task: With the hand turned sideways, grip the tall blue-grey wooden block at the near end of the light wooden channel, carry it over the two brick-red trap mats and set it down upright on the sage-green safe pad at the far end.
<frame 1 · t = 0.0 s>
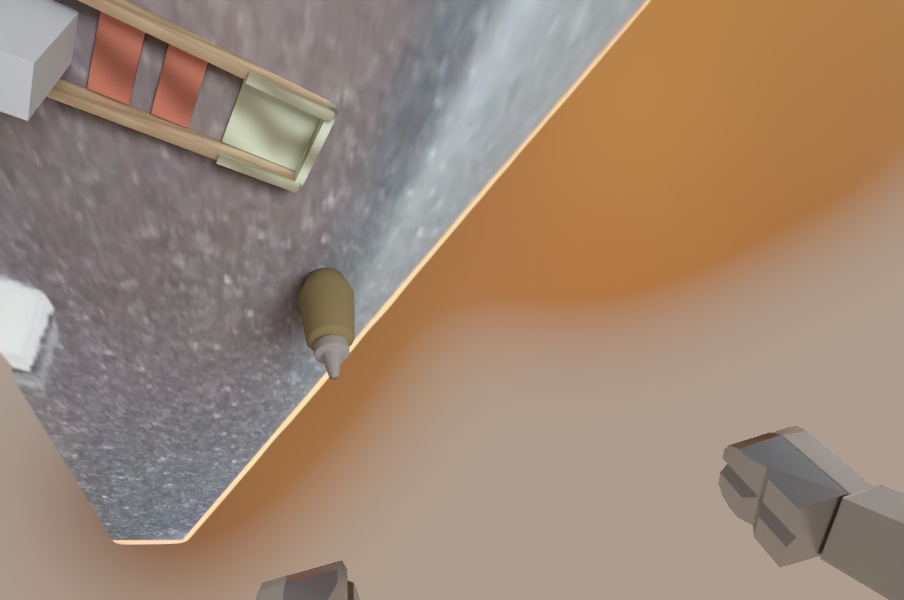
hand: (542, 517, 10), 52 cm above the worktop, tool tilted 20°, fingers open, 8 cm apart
squeeze bottle: (325, 280, 73), on the worktop
blue-grey block: (40, 23, 43), resting in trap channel
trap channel: (166, 78, 48), on the worktop
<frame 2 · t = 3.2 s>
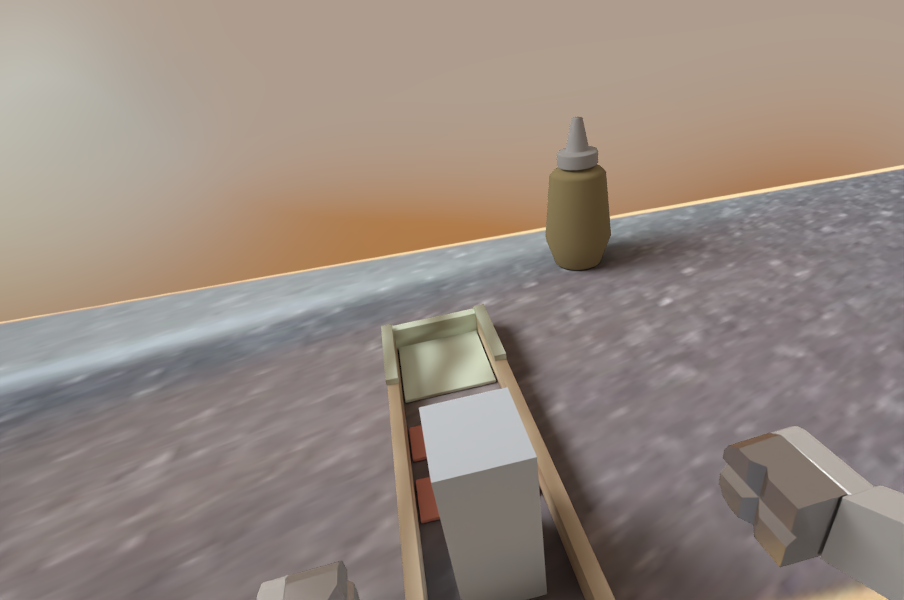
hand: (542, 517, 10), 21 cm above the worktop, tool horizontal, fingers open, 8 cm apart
squeeze bottle: (577, 262, 62), on the worktop
blue-grey block: (495, 564, 30), resting in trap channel
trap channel: (464, 444, 38), on the worktop
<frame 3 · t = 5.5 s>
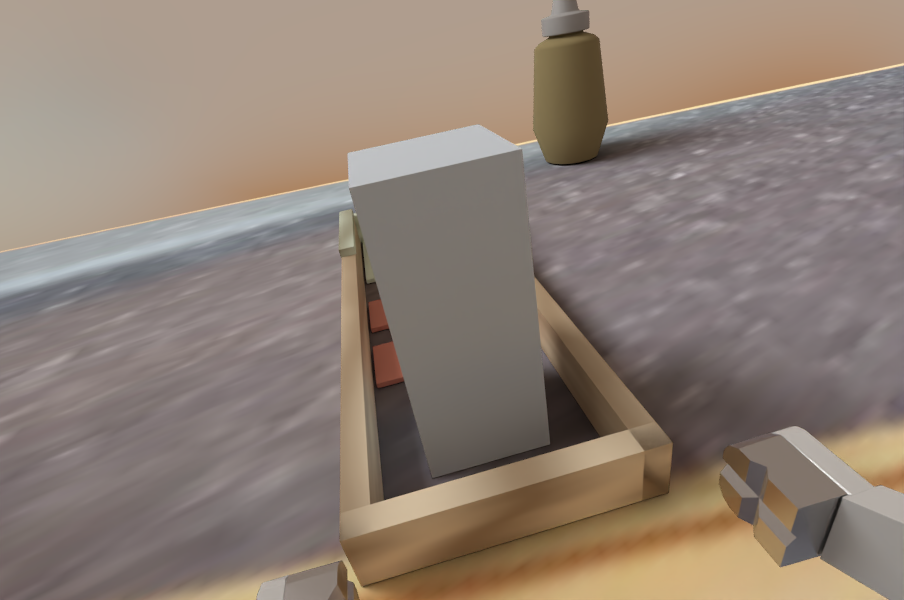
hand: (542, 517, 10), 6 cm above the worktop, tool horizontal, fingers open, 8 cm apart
squeeze bottle: (571, 159, 54), on the worktop
blue-grey block: (476, 419, 21), resting in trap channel
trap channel: (438, 311, 30), on the worktop
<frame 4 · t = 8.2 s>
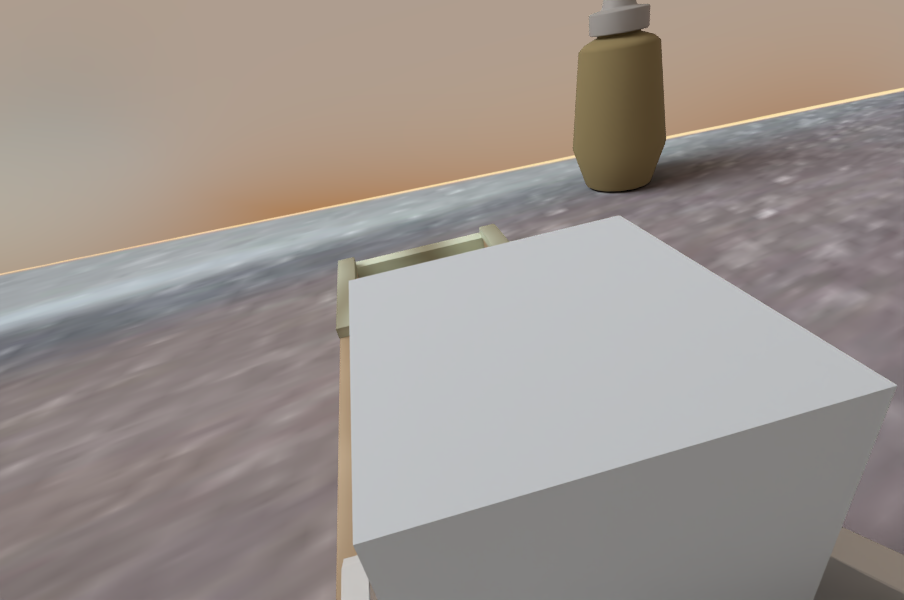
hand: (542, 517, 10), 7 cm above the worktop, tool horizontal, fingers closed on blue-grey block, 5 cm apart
squeeze bottle: (617, 185, 45), on the worktop
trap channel: (478, 431, 21), on the worktop
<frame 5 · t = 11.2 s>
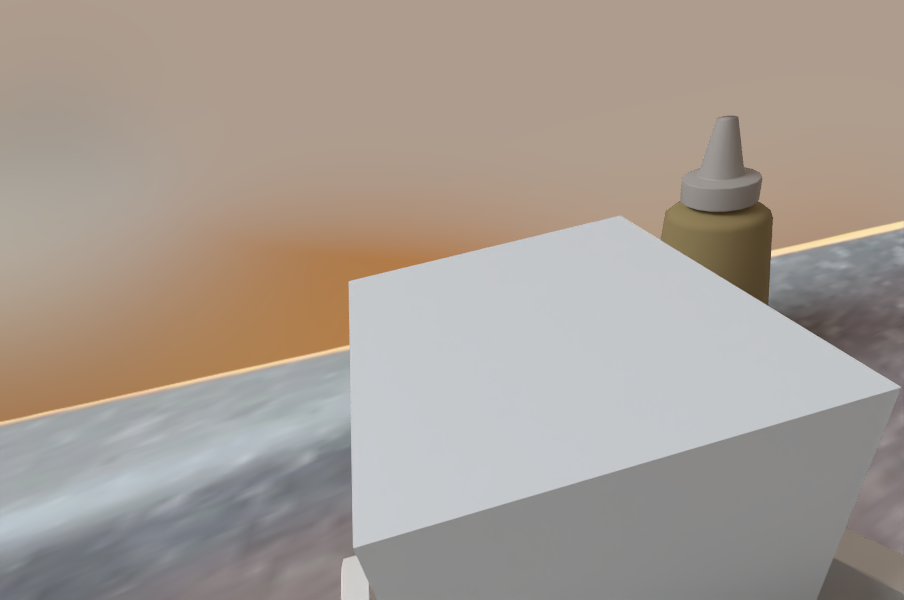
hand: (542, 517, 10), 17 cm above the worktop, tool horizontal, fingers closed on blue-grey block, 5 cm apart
squeeze bottle: (700, 352, 38), on the worktop
when the fingers open (8 cm above the worktop, at t = 14.3 s): blue-grey block drops 1 cm, resting on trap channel.
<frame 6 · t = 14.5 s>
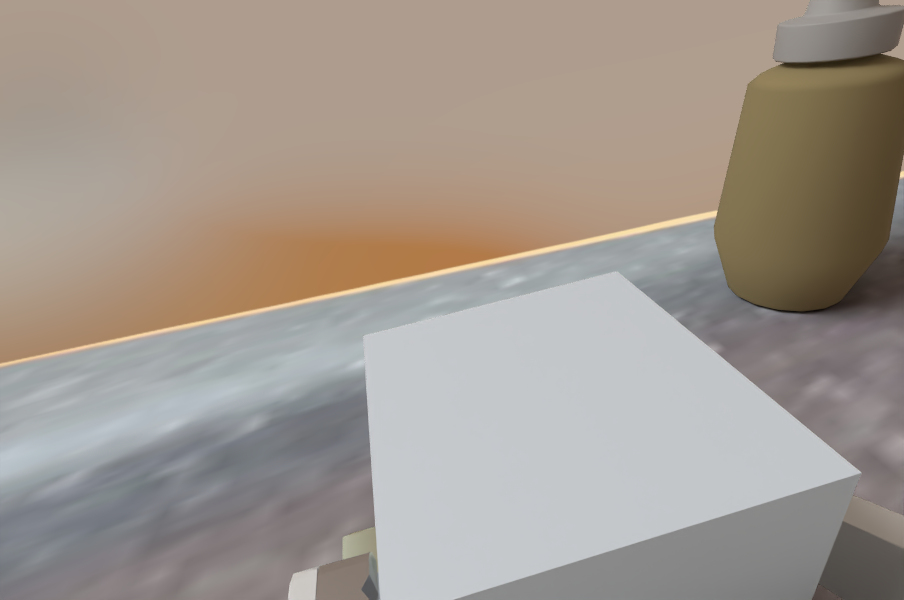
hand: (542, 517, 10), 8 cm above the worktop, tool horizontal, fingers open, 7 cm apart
squeeze bottle: (781, 290, 29), on the worktop
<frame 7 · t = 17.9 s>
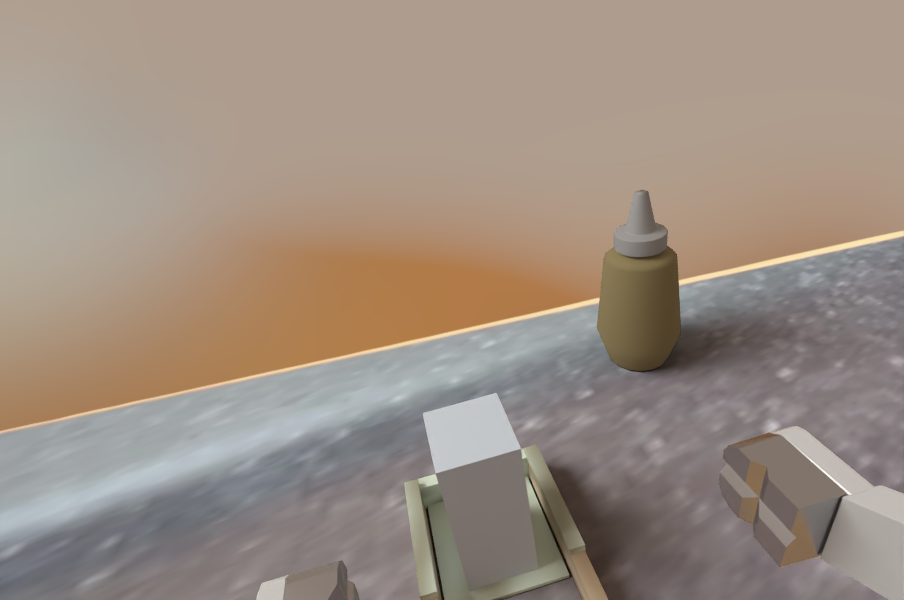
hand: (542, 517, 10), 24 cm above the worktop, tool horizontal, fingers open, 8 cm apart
squeeze bottle: (637, 356, 51), on the worktop
blue-grey block: (494, 546, 35), resting on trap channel
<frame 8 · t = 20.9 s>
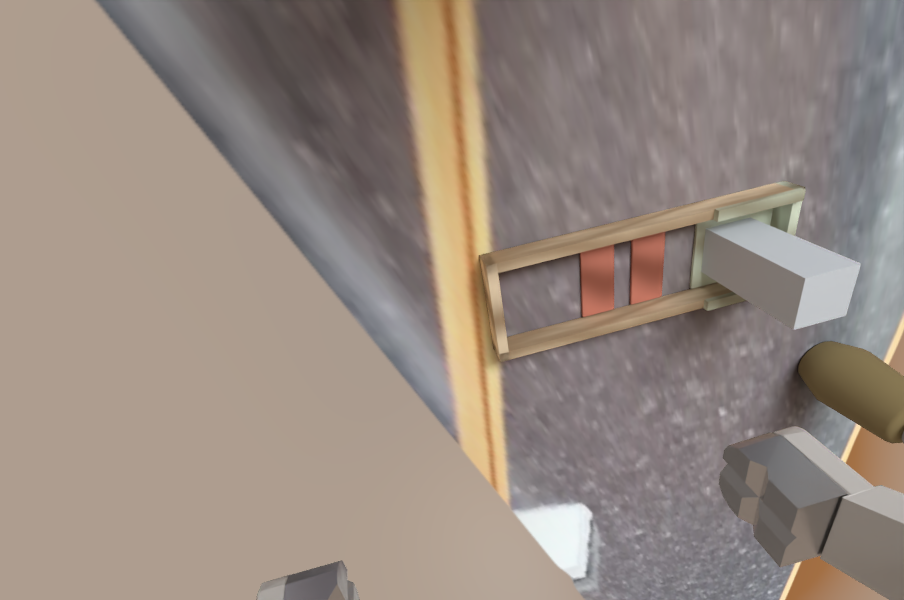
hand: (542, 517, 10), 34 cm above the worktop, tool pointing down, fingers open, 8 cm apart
squeeze bottle: (816, 358, 62), on the worktop
blue-grey block: (725, 245, 49), resting on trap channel
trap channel: (635, 266, 49), on the worktop
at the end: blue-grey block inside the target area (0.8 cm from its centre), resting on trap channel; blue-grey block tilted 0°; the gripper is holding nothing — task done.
